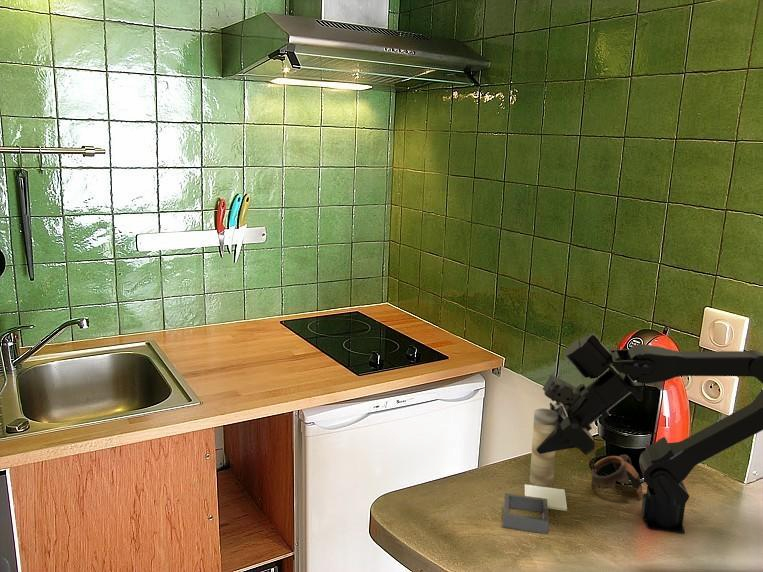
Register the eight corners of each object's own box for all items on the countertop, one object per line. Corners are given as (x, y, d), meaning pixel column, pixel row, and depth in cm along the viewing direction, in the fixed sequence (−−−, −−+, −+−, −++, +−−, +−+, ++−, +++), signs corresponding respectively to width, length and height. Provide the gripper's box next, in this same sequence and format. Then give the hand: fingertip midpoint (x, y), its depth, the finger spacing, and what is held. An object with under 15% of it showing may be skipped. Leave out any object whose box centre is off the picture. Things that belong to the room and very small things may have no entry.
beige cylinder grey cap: (552, 476, 123) (557, 409, 120) (554, 487, 119) (559, 418, 116) (529, 474, 124) (533, 407, 121) (530, 485, 120) (535, 416, 117)
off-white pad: (564, 491, 128) (564, 489, 128) (567, 511, 121) (567, 509, 121) (524, 486, 130) (524, 484, 130) (524, 505, 123) (524, 503, 123)
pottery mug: (644, 511, 123) (626, 477, 122) (598, 515, 129) (581, 483, 127) (651, 472, 133) (635, 440, 131) (608, 478, 138) (592, 447, 137)
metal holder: (545, 510, 121) (547, 498, 121) (547, 534, 113) (548, 521, 113) (503, 504, 123) (504, 493, 122) (502, 527, 115) (503, 514, 114)
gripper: (563, 350, 125) (504, 398, 129) (580, 381, 107) (511, 437, 111) (601, 389, 126) (541, 437, 129) (624, 427, 108) (554, 481, 111)
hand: (536, 446), depth 120 cm, fingers closed on beige cylinder grey cap, 4 cm apart
